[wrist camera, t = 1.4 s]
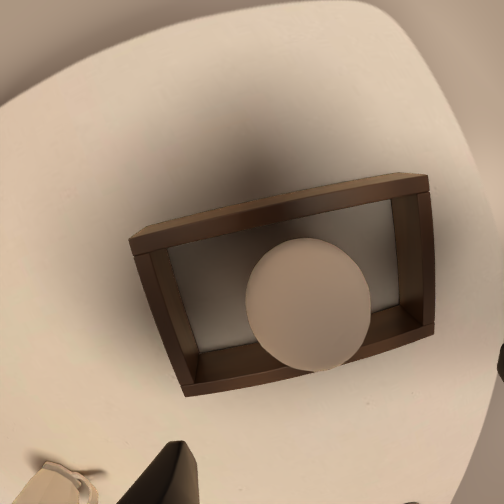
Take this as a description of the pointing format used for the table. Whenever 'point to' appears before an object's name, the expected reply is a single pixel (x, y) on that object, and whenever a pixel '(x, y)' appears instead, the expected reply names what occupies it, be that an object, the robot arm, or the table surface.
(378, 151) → the table surface
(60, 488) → the cup
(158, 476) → the robot arm
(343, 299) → the egg
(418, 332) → the holder
